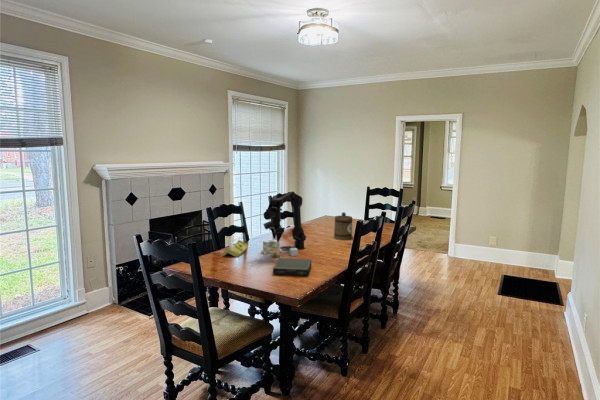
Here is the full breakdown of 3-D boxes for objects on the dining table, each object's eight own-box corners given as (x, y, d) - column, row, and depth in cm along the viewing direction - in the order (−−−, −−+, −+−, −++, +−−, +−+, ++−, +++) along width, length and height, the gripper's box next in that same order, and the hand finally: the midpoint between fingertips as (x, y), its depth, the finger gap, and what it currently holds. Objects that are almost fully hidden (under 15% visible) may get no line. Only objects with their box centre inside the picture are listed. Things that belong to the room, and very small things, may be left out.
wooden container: (352, 240, 307) (353, 214, 305) (334, 240, 308) (335, 213, 305) (350, 236, 322) (351, 211, 319) (333, 236, 322) (334, 210, 320)
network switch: (311, 265, 240) (311, 257, 239) (313, 277, 216) (313, 269, 216) (274, 265, 239) (274, 257, 238) (272, 277, 216) (272, 268, 215)
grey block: (295, 254, 264) (295, 247, 264) (297, 255, 260) (297, 249, 260) (289, 254, 263) (289, 248, 262) (291, 256, 259) (291, 249, 258)
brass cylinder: (278, 255, 260) (278, 247, 259) (280, 257, 256) (280, 248, 255) (271, 256, 258) (271, 247, 258) (273, 257, 254) (273, 249, 253)
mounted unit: (291, 248, 278) (291, 238, 277) (295, 251, 270) (295, 240, 269) (261, 251, 270) (261, 240, 269) (264, 254, 262) (264, 242, 261)
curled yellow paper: (238, 254, 253) (226, 247, 254) (234, 263, 255) (222, 256, 257) (249, 245, 272) (237, 238, 273) (245, 253, 274) (234, 247, 275)
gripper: (261, 216, 259) (261, 237, 261) (268, 220, 242) (268, 244, 244) (276, 215, 263) (276, 236, 265) (284, 219, 246) (284, 242, 248)
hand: (276, 240), depth 256 cm, fingers open, 9 cm apart
